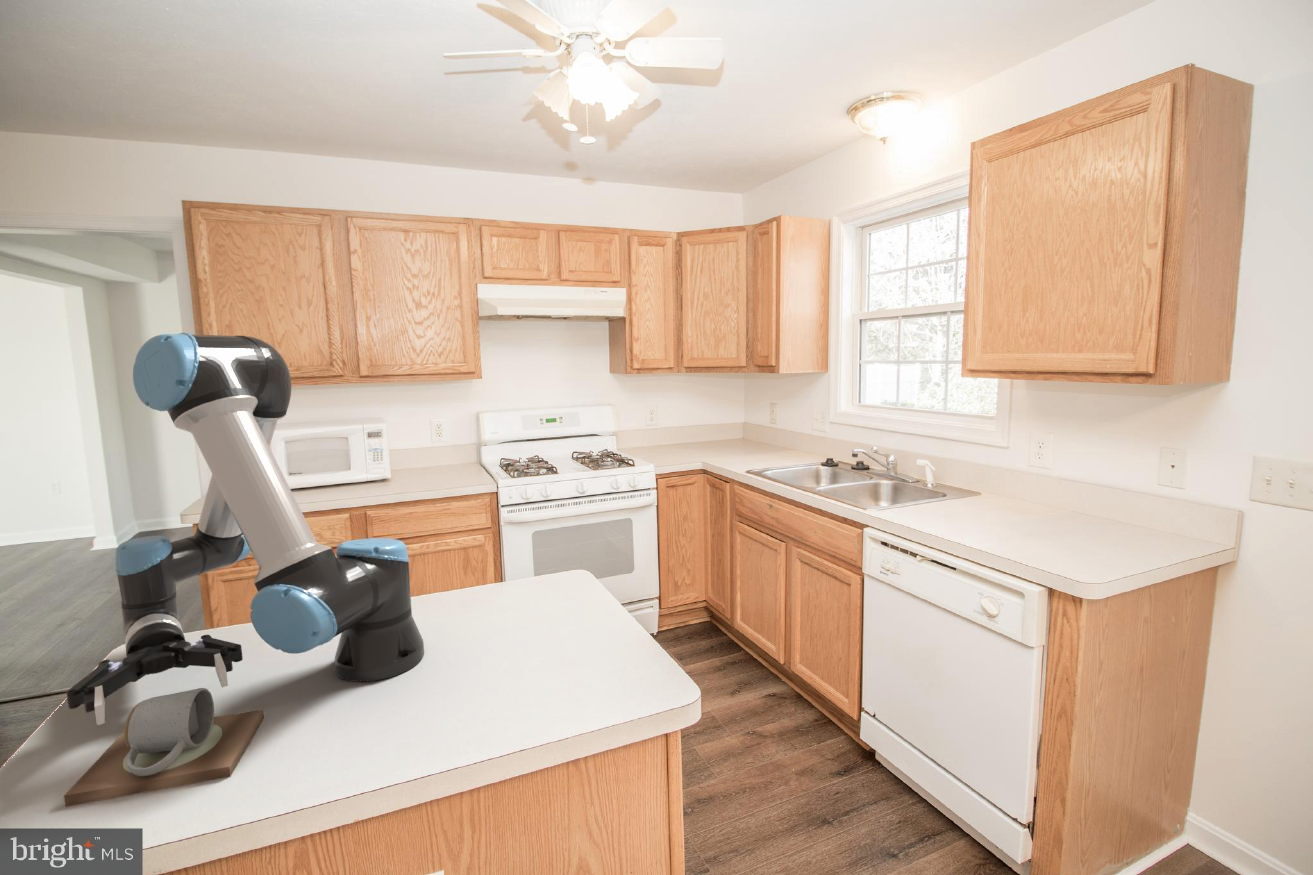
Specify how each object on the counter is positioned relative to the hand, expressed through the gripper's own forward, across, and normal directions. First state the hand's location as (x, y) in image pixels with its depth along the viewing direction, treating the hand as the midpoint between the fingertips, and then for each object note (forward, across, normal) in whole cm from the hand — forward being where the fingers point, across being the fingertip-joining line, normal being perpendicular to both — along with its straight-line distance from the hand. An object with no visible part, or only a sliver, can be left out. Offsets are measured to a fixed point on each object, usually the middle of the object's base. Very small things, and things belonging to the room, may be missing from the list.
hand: (165, 695), depth 84 cm
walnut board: (+1, 0, -9) cm, 9 cm away
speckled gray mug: (+2, 0, -8) cm, 8 cm away
